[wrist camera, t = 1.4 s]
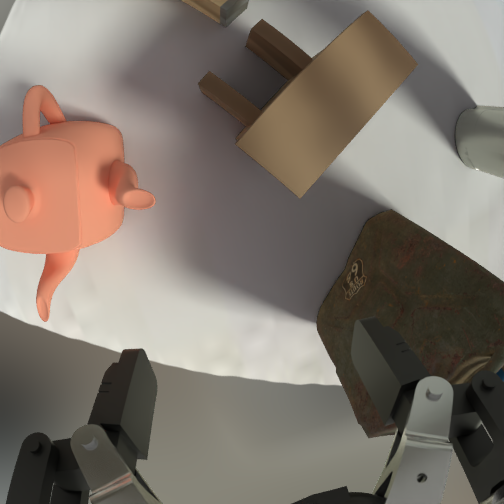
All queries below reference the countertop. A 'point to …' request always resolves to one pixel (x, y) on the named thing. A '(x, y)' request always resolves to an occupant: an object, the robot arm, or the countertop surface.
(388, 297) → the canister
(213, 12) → the rail
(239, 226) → the countertop surface
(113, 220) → the pot
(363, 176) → the countertop surface
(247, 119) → the slotted wooden stand
